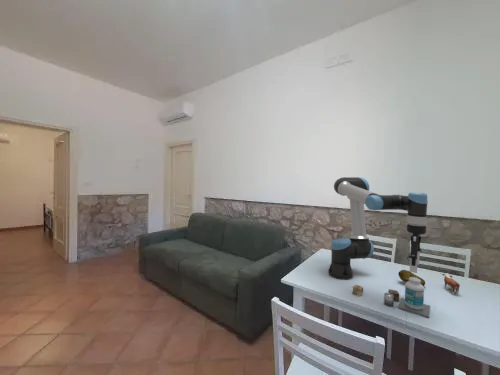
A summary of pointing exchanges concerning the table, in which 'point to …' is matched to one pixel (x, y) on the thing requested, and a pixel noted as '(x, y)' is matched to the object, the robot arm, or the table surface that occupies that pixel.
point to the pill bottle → (414, 293)
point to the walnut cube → (395, 294)
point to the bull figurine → (451, 283)
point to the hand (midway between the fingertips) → (414, 267)
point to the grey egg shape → (389, 299)
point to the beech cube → (357, 290)
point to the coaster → (422, 312)
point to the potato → (406, 274)
